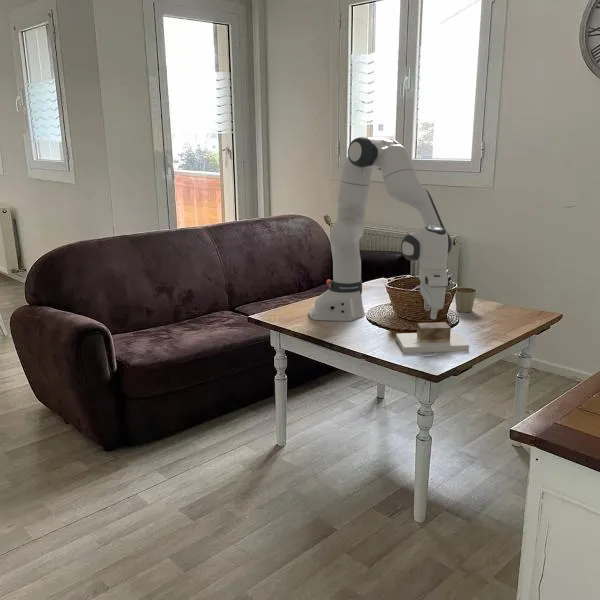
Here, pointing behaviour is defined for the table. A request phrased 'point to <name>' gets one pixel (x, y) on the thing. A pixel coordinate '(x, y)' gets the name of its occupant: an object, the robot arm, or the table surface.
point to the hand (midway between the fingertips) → (429, 314)
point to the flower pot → (465, 299)
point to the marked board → (431, 344)
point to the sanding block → (433, 332)
